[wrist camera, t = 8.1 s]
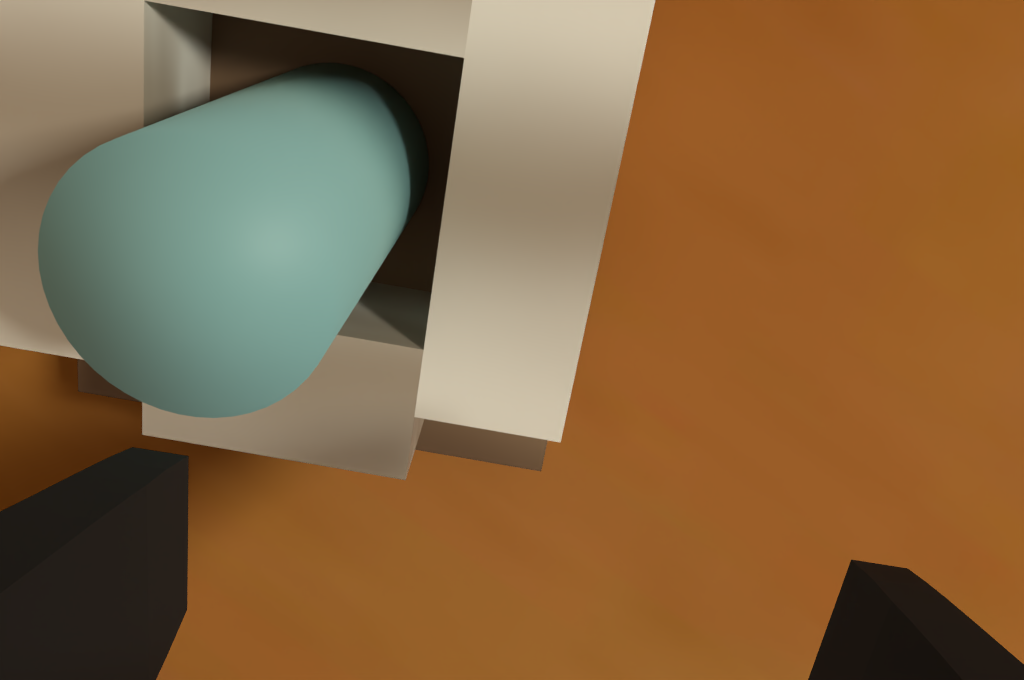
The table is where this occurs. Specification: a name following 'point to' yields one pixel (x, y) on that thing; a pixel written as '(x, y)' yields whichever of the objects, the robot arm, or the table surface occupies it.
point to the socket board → (424, 241)
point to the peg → (232, 237)
